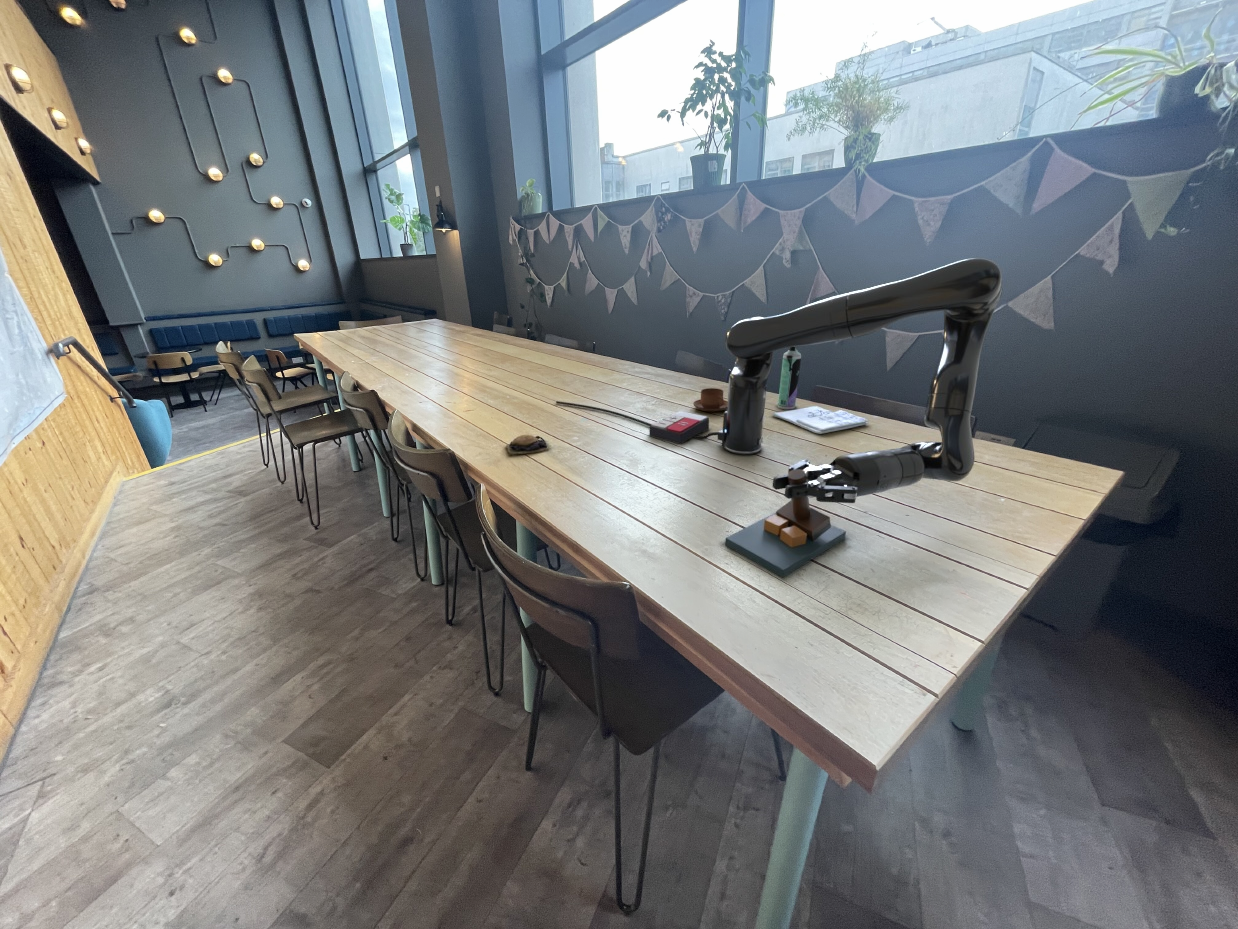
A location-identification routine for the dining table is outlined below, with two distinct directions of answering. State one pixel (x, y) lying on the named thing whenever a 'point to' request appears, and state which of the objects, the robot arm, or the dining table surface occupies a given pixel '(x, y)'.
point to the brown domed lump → (526, 445)
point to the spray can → (789, 379)
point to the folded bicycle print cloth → (821, 419)
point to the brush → (803, 511)
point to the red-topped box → (679, 427)
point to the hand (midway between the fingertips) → (780, 487)
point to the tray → (780, 547)
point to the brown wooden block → (775, 524)
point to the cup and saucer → (711, 400)
